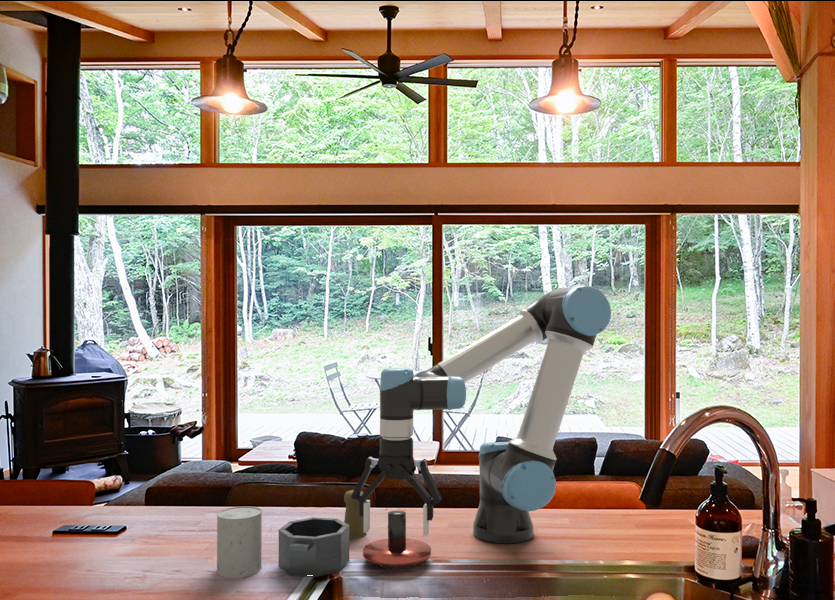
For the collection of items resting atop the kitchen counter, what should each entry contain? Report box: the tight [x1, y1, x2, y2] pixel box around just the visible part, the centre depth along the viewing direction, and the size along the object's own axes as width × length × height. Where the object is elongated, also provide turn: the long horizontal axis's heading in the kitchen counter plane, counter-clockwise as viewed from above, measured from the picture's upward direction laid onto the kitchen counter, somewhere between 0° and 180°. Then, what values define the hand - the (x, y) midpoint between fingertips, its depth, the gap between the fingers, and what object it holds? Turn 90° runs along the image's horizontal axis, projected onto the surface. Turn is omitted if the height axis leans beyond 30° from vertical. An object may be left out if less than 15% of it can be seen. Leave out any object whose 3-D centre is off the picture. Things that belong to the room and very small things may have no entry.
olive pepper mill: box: [343, 489, 367, 540], centre depth 166 cm, size 6×6×11 cm
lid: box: [362, 510, 432, 571], centre depth 146 cm, size 15×15×11 cm
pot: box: [278, 516, 350, 578], centre depth 146 cm, size 14×19×8 cm
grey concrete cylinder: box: [216, 505, 263, 579], centre depth 143 cm, size 10×10×12 cm
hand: (396, 532), depth 146 cm, fingers open, 13 cm apart
